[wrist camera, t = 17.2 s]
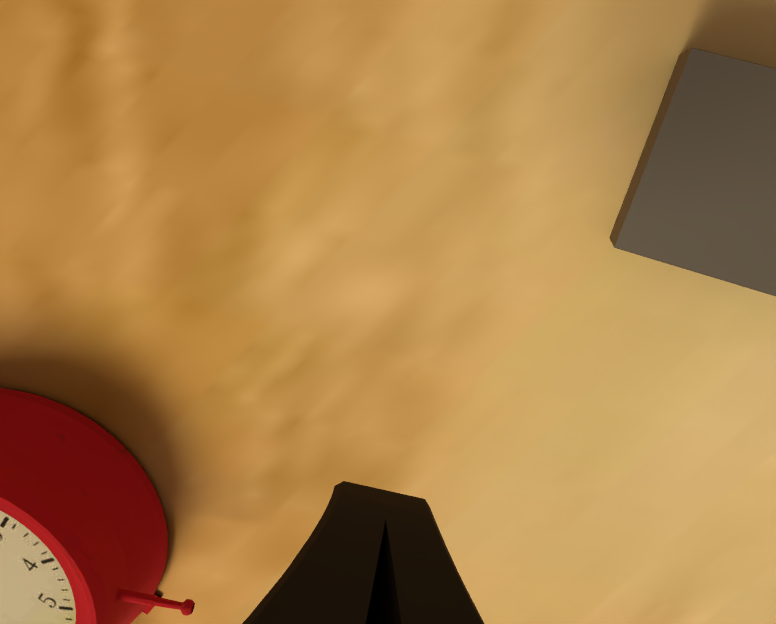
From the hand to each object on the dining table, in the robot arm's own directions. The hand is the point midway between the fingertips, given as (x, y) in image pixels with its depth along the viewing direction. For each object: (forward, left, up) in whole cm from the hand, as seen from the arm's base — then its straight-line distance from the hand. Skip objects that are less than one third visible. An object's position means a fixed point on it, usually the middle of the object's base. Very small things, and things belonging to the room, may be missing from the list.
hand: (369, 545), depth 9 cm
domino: (-3, -8, -10) cm, 13 cm away
